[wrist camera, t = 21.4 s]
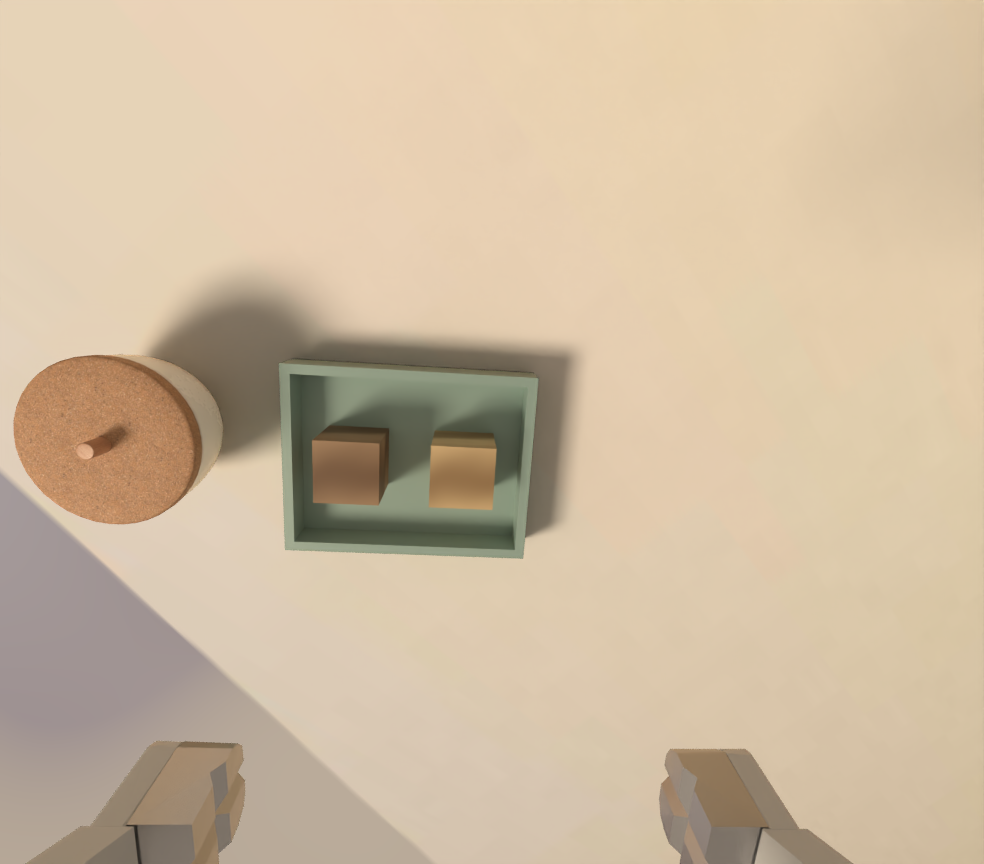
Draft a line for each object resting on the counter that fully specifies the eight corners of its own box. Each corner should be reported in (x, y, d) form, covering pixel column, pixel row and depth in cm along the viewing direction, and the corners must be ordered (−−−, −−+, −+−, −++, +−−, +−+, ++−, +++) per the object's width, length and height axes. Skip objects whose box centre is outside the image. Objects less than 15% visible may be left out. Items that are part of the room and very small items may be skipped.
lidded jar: (174, 316, 37) (79, 319, 28) (276, 430, 40) (219, 467, 30) (69, 404, 38) (-55, 435, 29) (174, 510, 41) (90, 569, 32)
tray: (293, 358, 38) (278, 363, 35) (533, 372, 39) (538, 378, 36) (298, 532, 42) (284, 550, 39) (519, 540, 43) (523, 558, 40)
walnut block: (329, 425, 39) (312, 440, 35) (389, 428, 39) (379, 443, 35) (329, 481, 40) (313, 502, 36) (388, 483, 40) (378, 505, 36)
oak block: (435, 430, 39) (430, 445, 35) (493, 433, 40) (496, 448, 35) (432, 485, 41) (428, 507, 36) (489, 488, 41) (492, 510, 36)
